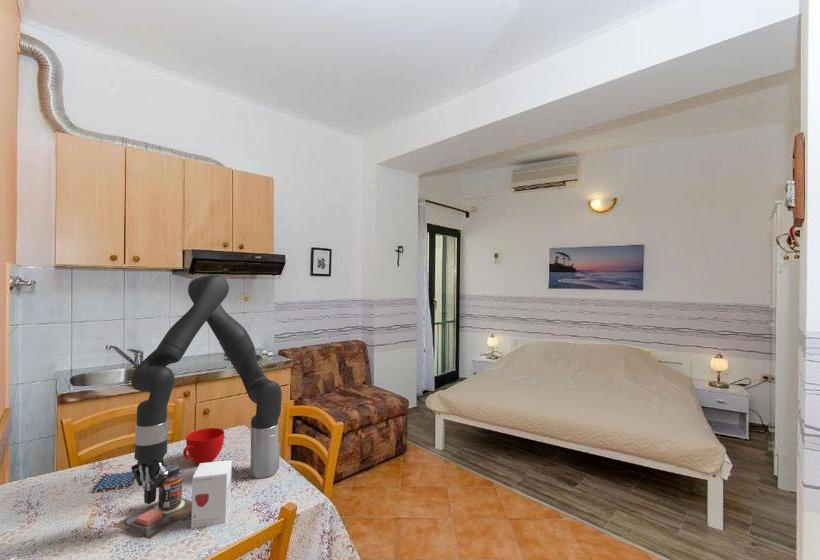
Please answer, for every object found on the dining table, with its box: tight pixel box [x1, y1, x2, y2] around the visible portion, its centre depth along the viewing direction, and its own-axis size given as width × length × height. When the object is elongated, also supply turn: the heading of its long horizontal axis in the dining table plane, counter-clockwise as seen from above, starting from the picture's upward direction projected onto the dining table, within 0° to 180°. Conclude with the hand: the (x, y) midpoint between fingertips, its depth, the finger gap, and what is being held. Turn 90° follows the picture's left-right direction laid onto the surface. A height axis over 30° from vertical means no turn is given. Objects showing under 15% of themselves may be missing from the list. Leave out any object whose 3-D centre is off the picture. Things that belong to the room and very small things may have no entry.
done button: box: [136, 509, 163, 527], centre depth 107 cm, size 4×4×2 cm
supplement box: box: [190, 459, 233, 529], centre depth 112 cm, size 9×9×15 cm
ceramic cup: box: [182, 427, 225, 465], centre depth 147 cm, size 13×17×10 cm
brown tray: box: [112, 497, 192, 540], centre depth 112 cm, size 17×14×3 cm
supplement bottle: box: [157, 464, 183, 510], centre depth 117 cm, size 6×6×11 cm
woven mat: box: [92, 471, 136, 494], centre depth 131 cm, size 10×11×2 cm
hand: (149, 502), depth 107 cm, fingers closed
